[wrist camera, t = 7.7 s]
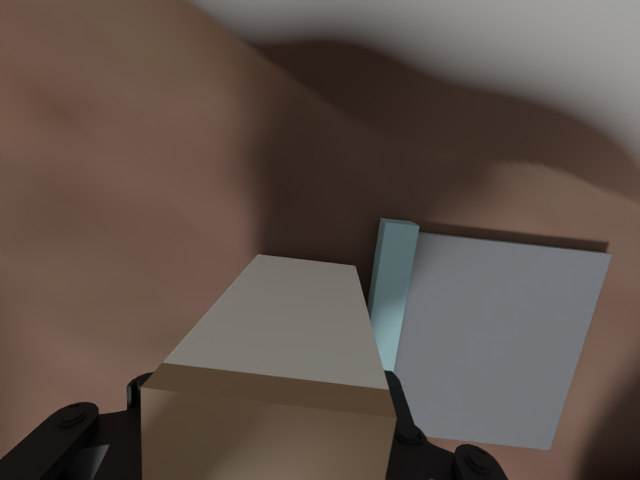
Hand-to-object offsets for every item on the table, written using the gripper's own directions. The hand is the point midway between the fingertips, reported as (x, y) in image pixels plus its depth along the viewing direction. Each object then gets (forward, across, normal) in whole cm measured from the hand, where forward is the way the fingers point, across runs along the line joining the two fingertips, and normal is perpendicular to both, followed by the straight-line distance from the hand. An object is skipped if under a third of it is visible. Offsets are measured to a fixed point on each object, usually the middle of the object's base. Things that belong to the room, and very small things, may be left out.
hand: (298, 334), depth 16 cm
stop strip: (+1, +4, 0) cm, 5 cm away
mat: (+1, +10, 0) cm, 10 cm away
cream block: (0, 0, 0) cm, 0 cm away
